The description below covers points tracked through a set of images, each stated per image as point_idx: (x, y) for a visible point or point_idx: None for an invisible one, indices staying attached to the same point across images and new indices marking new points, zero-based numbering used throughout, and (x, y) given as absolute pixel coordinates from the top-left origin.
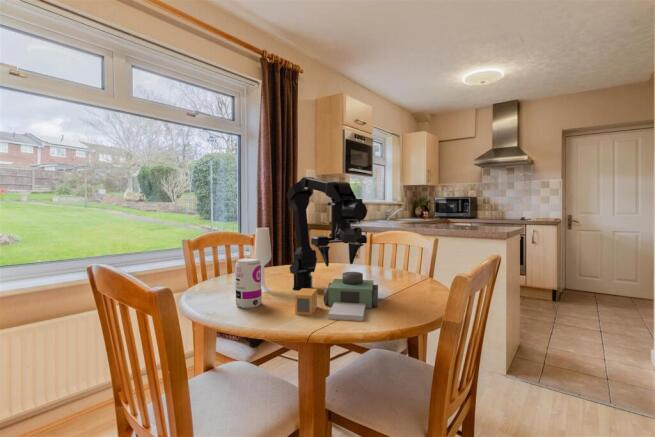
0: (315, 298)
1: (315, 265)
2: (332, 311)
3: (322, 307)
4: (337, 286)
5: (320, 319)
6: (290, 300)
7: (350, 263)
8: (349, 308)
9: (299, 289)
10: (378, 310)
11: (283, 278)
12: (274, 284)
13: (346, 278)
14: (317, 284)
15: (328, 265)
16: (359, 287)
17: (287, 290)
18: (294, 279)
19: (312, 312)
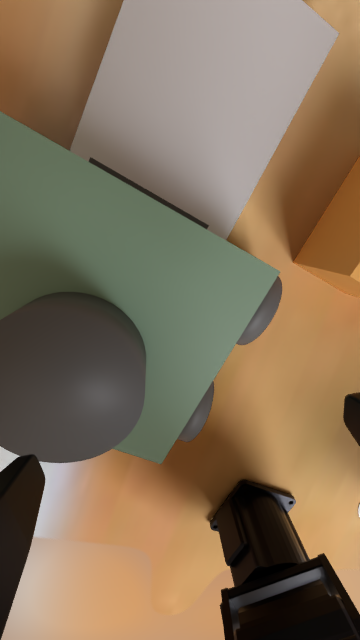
0: (345, 231)
1: (229, 633)
2: (300, 69)
3: (274, 246)
4: (212, 286)
5: (356, 61)
6: (353, 375)
7: (41, 476)
8: (191, 89)
9: (273, 489)
10: (11, 92)
11: None
12: None
13: (131, 340)
14: (178, 544)
15: (353, 398)
16: (66, 209)
17: (312, 492)
18: (301, 545)
19: (354, 168)
